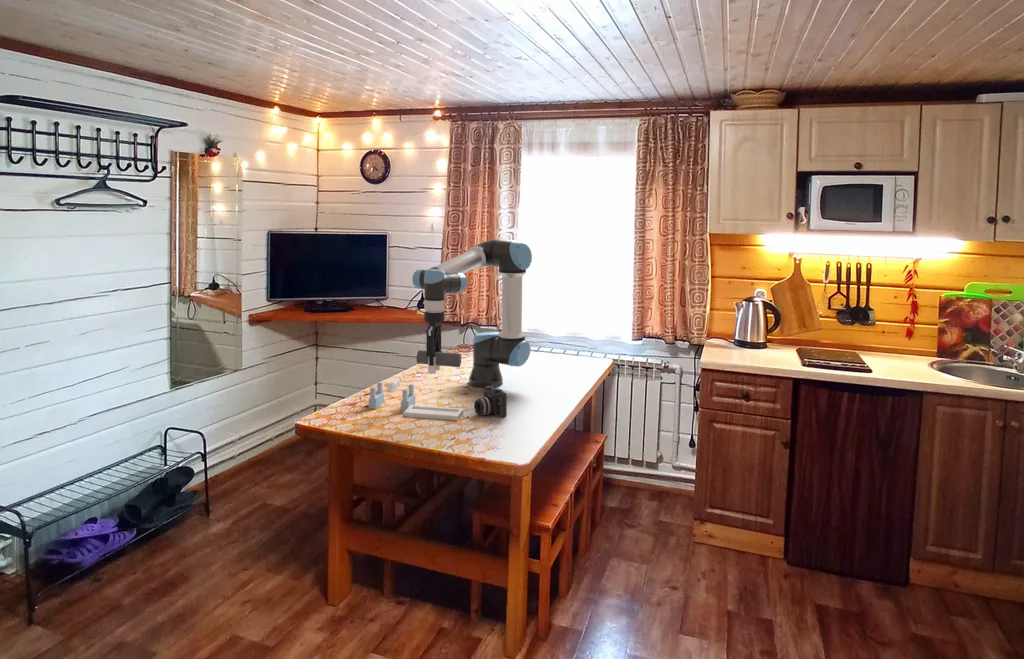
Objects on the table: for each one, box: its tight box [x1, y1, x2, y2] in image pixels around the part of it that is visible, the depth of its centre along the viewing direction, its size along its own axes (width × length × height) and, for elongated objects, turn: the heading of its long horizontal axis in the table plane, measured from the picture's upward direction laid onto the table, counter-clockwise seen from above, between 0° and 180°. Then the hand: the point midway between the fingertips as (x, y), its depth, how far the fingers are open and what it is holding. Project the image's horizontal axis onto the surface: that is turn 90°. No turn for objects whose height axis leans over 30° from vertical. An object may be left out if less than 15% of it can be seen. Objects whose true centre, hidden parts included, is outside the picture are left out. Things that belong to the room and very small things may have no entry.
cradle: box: [368, 381, 416, 412], centre depth 274 cm, size 16×10×8 cm, turn 81°
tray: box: [402, 404, 464, 421], centre depth 266 cm, size 21×10×2 cm, turn 81°
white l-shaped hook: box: [385, 380, 401, 393], centre depth 265 cm, size 2×10×4 cm, turn 171°
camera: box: [473, 385, 508, 419], centre depth 268 cm, size 14×11×10 cm
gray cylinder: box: [416, 350, 462, 368], centre depth 262 cm, size 16×5×5 cm, turn 81°
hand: (433, 371), depth 263 cm, fingers closed on gray cylinder, 5 cm apart
